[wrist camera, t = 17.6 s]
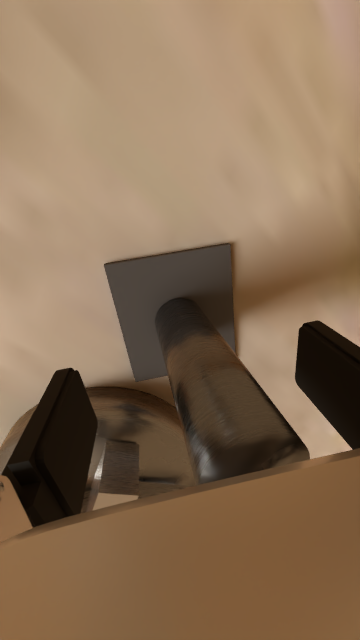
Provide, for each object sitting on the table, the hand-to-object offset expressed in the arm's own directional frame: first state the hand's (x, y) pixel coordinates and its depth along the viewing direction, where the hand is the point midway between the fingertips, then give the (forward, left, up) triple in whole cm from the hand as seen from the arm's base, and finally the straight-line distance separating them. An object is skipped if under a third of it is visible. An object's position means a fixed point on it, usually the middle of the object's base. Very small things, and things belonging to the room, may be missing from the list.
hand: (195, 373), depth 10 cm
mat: (0, 0, -6) cm, 6 cm away
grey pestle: (0, 0, -5) cm, 5 cm away
